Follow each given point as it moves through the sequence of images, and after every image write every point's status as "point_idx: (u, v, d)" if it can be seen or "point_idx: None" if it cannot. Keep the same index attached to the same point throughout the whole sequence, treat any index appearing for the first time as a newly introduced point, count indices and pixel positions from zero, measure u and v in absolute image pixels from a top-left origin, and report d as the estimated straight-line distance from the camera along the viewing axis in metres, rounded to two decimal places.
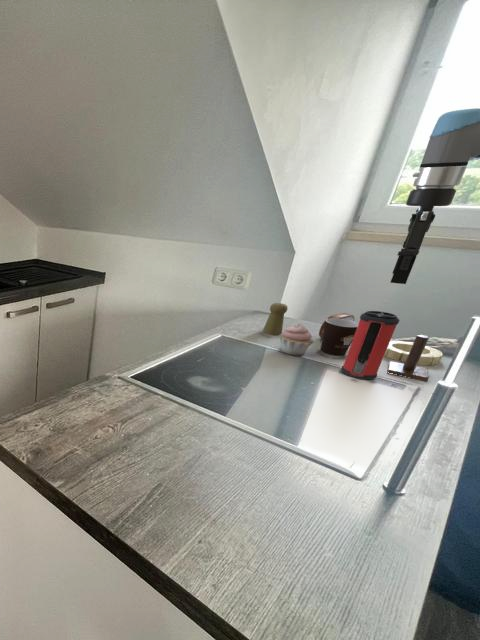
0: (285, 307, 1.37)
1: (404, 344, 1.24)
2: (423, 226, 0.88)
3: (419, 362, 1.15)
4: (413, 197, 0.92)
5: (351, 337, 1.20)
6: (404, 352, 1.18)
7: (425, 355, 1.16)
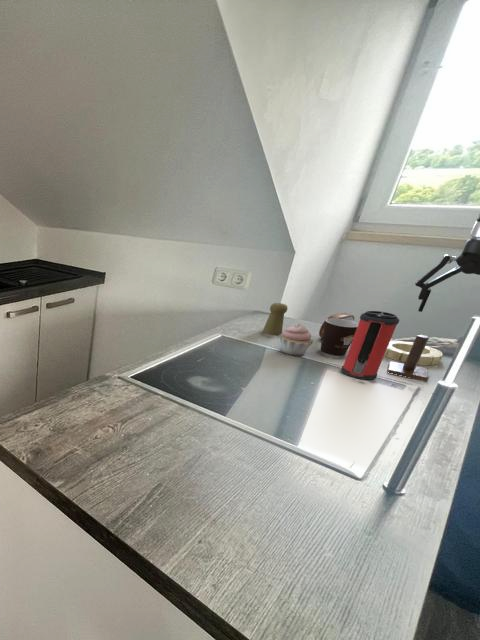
0: (285, 307, 1.37)
1: (404, 344, 1.24)
2: None
3: (419, 362, 1.15)
4: None
5: (351, 337, 1.20)
6: (404, 352, 1.18)
7: (425, 355, 1.16)
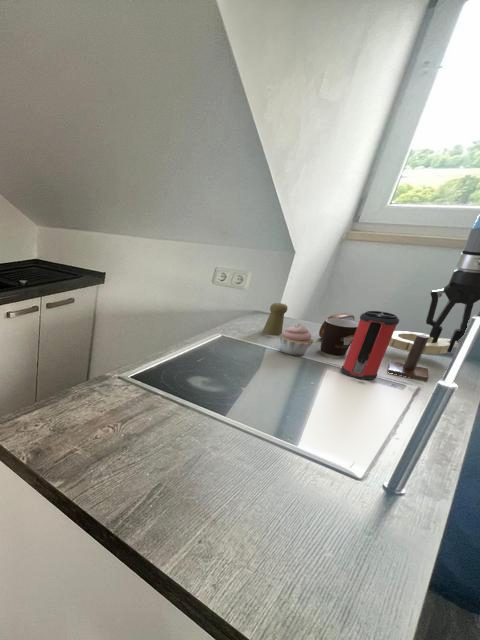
0: (285, 307, 1.37)
1: (410, 334, 1.22)
2: None
3: (426, 351, 1.14)
4: None
5: (351, 337, 1.20)
6: (411, 342, 1.16)
7: (432, 344, 1.14)
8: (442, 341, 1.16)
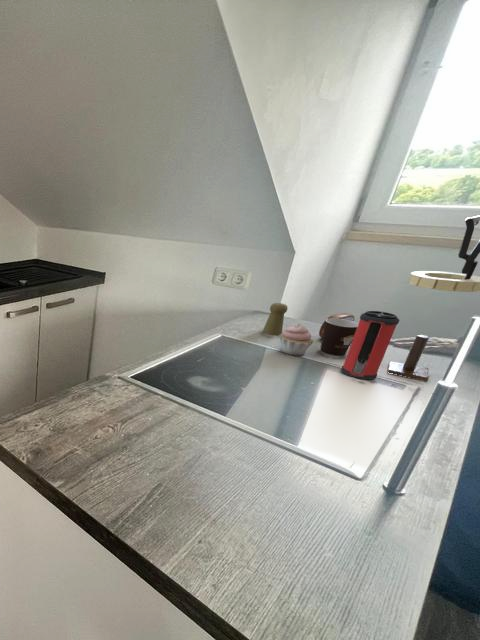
0: (285, 307, 1.37)
1: (438, 274, 1.07)
2: None
3: (458, 288, 0.99)
4: None
5: (351, 337, 1.20)
6: (440, 278, 1.01)
7: (465, 280, 0.99)
8: (476, 278, 1.00)
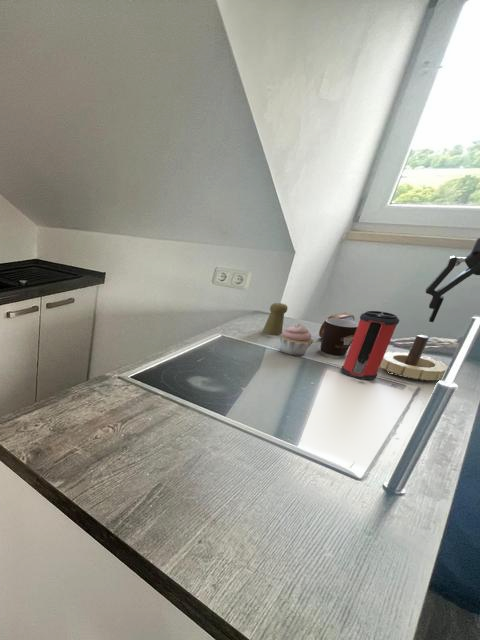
0: (285, 307, 1.37)
1: (407, 356, 1.13)
2: None
3: (423, 377, 1.04)
4: None
5: (351, 337, 1.20)
6: (406, 365, 1.07)
7: (430, 369, 1.04)
8: (441, 365, 1.06)
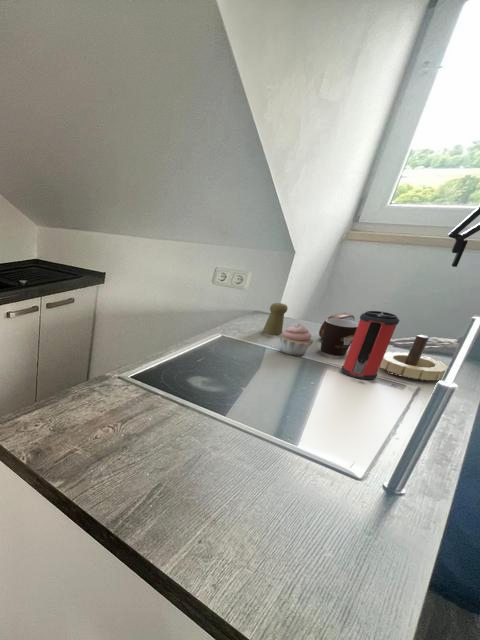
0: (285, 307, 1.37)
1: (407, 356, 1.13)
2: None
3: (423, 377, 1.04)
4: None
5: (351, 337, 1.20)
6: (406, 365, 1.07)
7: (430, 369, 1.04)
8: (441, 365, 1.06)
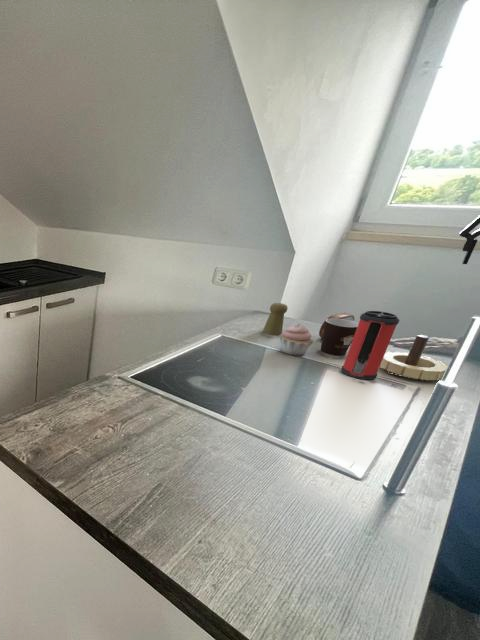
0: (285, 307, 1.37)
1: (407, 356, 1.13)
2: None
3: (423, 377, 1.04)
4: None
5: (351, 337, 1.20)
6: (406, 365, 1.07)
7: (430, 369, 1.04)
8: (441, 365, 1.06)
